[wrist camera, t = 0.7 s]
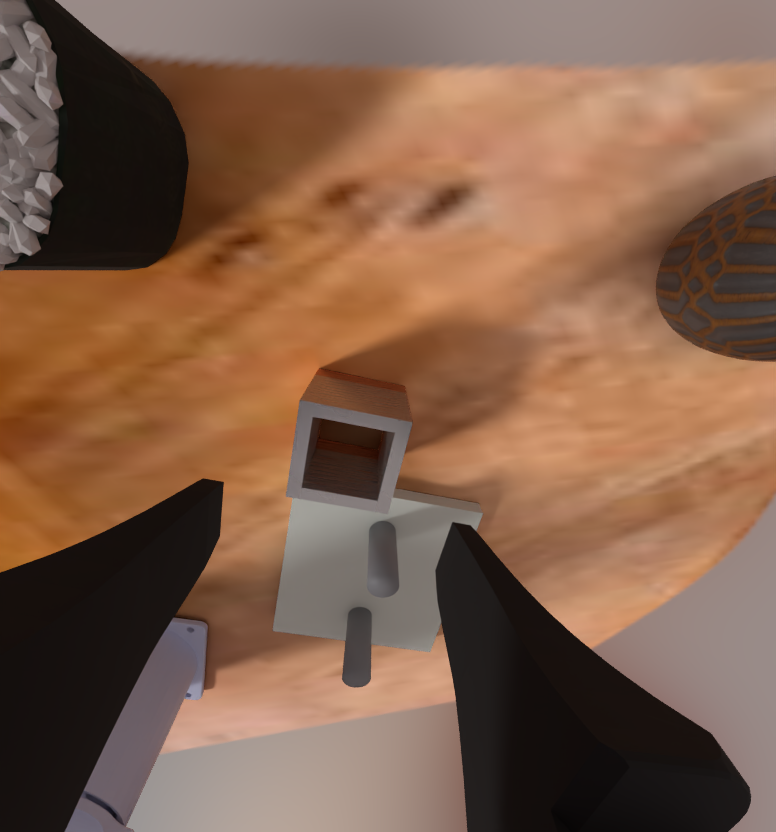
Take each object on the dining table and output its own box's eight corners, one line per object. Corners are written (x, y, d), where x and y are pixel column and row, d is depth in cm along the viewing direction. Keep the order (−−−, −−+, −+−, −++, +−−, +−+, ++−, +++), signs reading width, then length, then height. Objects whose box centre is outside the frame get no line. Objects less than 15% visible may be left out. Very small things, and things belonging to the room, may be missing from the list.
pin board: (276, 617, 26) (253, 694, 21) (299, 470, 21) (276, 526, 17) (428, 638, 27) (438, 716, 22) (478, 503, 22) (504, 564, 18)
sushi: (-7, 232, 17) (-320, 201, 9) (-12, -3, 14) (-472, -323, 6) (176, 296, 18) (31, 315, 10) (207, 93, 15) (37, -81, 7)
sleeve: (306, 446, 21) (286, 496, 16) (319, 368, 19) (299, 399, 14) (385, 460, 21) (388, 514, 17) (404, 386, 20) (412, 422, 15)
